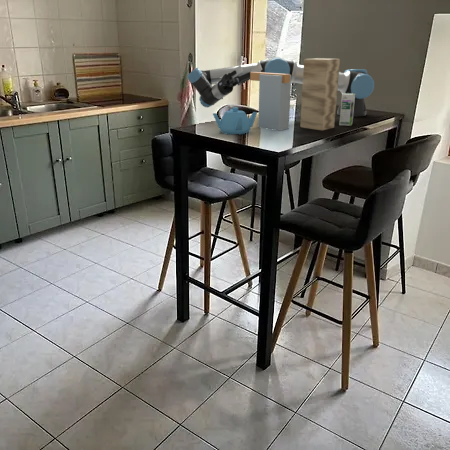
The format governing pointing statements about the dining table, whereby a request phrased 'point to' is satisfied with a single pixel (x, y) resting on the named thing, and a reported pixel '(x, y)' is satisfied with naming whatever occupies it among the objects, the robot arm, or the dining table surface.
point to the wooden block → (319, 93)
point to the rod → (256, 75)
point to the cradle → (274, 102)
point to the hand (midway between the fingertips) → (251, 67)
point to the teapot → (235, 121)
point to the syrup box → (347, 109)
